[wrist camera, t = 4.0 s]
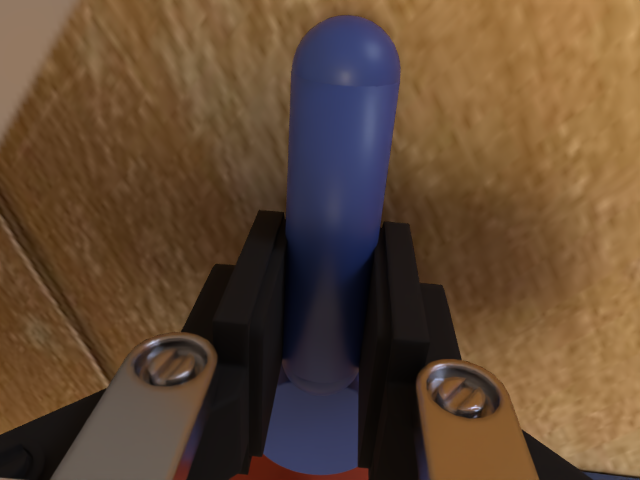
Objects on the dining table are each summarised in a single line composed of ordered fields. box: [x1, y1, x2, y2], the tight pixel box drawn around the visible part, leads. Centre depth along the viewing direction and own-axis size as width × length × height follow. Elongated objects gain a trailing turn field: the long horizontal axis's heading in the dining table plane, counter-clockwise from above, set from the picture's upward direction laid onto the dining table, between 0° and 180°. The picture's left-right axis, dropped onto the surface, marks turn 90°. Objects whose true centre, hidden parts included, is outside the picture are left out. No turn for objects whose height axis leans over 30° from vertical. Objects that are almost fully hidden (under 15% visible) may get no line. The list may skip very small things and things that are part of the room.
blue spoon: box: [263, 15, 401, 475], centre depth 11 cm, size 11×3×2 cm, turn 176°
